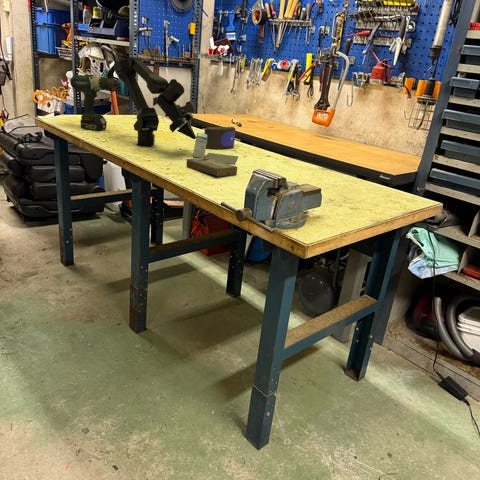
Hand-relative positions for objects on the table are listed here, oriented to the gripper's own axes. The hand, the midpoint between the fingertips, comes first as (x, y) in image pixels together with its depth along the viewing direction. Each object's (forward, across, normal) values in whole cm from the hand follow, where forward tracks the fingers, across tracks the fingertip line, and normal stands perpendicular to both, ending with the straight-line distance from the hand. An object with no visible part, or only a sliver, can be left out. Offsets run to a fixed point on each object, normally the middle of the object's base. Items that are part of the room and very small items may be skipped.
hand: (195, 138), depth 175 cm
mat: (+13, 0, -3) cm, 13 cm away
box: (+13, -20, -2) cm, 24 cm away
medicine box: (+6, 0, +4) cm, 7 cm away
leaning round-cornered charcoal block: (+10, +22, 0) cm, 24 cm away
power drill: (-33, +28, +42) cm, 60 cm away
